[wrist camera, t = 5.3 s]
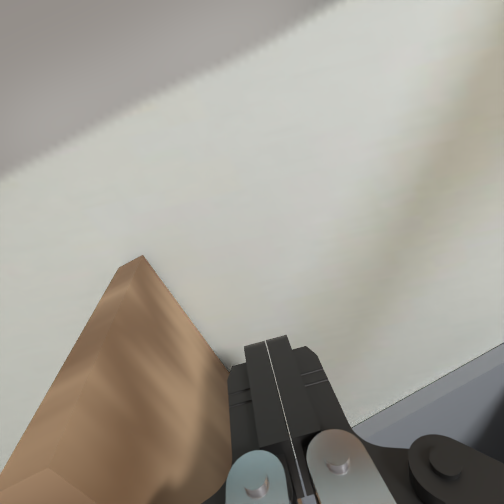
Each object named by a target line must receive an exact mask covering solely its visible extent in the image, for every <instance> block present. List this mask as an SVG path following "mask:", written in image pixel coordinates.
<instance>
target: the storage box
mask: <svg viewBox="0 0 504 504" xmlns="http://www.w3.org/2000/svg"><path fill="white" fill-rule="evenodd" d="M352 430H353V431H354V432H355V433H356V434H357V435H358V436H359V437H361V438H362V439H363V440H365V441H367V442H369V443H371V444H374V445H377V446H382V447H392V448H407V449H410V446H411V445H412V443H413V442H414V441H415V440H416V439H418V438H419V437H421V436H424V435H429V434H437V435H443V436H447V437H450V438H452V439H454V440H457V441H459V442H461V443H463V444H465V445H467V446H469V447H471V448H473V449H475V450H477V451H479V452H481V453H483V454H485V455H487V456H489V457H491V458H493V459H495V460H497V461H499V462H501V463H503V464H504V343H503V344H501V345H499V346H498V347H496V348H494V349H492V350H490V351H489V352H487V353H485V354H483V355H482V356H480V357H478V358H476V359H474V360H473V361H471V362H469V363H467V364H465V365H464V366H462V367H460V368H458V369H456V370H455V371H453V372H451V373H449V374H448V375H446V376H444V377H442V378H440V379H439V380H437V381H435V382H433V383H431V384H430V385H428V386H426V387H424V388H422V389H421V390H419V391H417V392H415V393H414V394H412V395H410V396H408V397H406V398H405V399H403V400H401V401H399V402H397V403H396V404H394V405H392V406H390V407H388V408H387V409H385V410H383V411H381V412H379V413H378V414H376V415H374V416H372V417H371V418H369V419H367V420H365V421H363V422H362V423H360V424H358V425H356V426H354V427H353V428H352ZM295 460H296V464H297V468H298V472H299V476H300V480H301V484H302V488H303V492H304V496H305V497H303V498H301V500H302V504H317V503H316V499H315V496H314V494H313V495H310V496H307V495H306V491H305V487H304V484H303V480H302V476H301V472H300V469H299V465H298V461H297V459H295Z"/></svg>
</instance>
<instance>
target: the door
mask: <svg viewBox="0 0 504 504" xmlns="http://www.w3.org/2000/svg"><path fill="white" fill-rule="evenodd" d="M229 374H230V373H229V372H228V371H227V369H226V368H225V367H224V365H223V364H222V362H221V361H220V360H219V358H218V357H217V356H216V354H215V353H214V351H213V350H212V349H211V347H210V346H209V345H208V343H207V342H206V341H205V339H204V338H203V336H202V335H201V334H200V332H199V331H198V330H197V328H196V327H195V326H194V324H193V323H192V321H191V320H190V319H189V317H188V316H187V315H186V313H185V312H184V311H183V309H182V308H181V306H180V305H179V304H178V302H177V301H176V300H175V298H174V297H173V295H172V294H171V293H170V291H169V290H168V289H167V287H166V286H165V285H164V283H163V282H162V280H161V279H160V278H159V276H158V275H157V274H156V272H155V271H154V270H153V268H152V267H151V265H150V264H149V263H148V261H147V260H146V259H145V257H144V256H143V255H142V256H140V257H138V258H136V259H134V260H132V261H131V262H129V263H127V264H125V265H123V266H121V267H119V268H118V270H117V272H116V273H115V275H114V277H113V279H112V280H111V282H110V284H109V286H108V287H107V289H106V291H105V293H104V294H103V296H102V298H101V300H100V301H99V303H98V305H97V307H96V308H95V310H94V312H93V314H92V315H91V317H90V319H89V321H88V322H87V324H86V326H85V327H84V329H83V331H82V333H81V334H80V336H79V338H78V340H77V341H76V343H75V345H74V347H73V348H72V350H71V352H70V354H69V355H68V357H67V359H66V361H65V362H64V364H63V366H62V368H61V369H60V371H59V373H58V375H57V376H56V378H55V380H54V382H53V383H52V385H51V387H50V389H49V390H48V392H47V394H46V396H45V397H44V399H43V401H42V403H41V404H40V406H39V408H38V409H37V411H36V413H35V415H34V416H33V418H32V420H31V422H30V423H29V425H28V427H27V429H26V430H25V432H24V434H23V436H22V437H21V439H20V441H19V443H18V444H17V446H16V448H15V450H14V451H13V453H12V455H11V457H10V458H9V460H8V462H7V464H6V465H5V467H4V469H3V471H2V472H1V474H0V504H201V503H203V502H204V501H206V500H207V499H209V498H210V497H211V496H212V495H214V494H215V493H216V492H217V491H218V490H219V489H220V488H221V486H222V485H223V484H224V482H225V480H226V479H227V477H228V474H229V471H230V469H231V464H232V447H231V432H230V416H229V401H228V397H229V396H228V386H227V379H228V376H229ZM297 500H298V504H302V500H301V498H300V499H297Z"/></svg>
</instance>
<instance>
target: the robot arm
mask: <svg viewBox="0 0 504 504" xmlns="http://www.w3.org/2000/svg"><path fill="white" fill-rule="evenodd" d="M266 342H267V346H268V350H269V354H270V358H271V362H272V365H273V369H274V373H275V377H276V381H277V385H278V389H279V393H280V396H281V400H282V404H283V408H284V412H285V416H286V420H287V424H288V427H289V431H290V435H291V439H292V443H293V446H294V450H295V454H296V458H297V461H298V465H299V469H300V472H301V476H302V480H303V484H304V487H305V491H306V495H307V496H310V495H313V494H314V496H315V499H316V503H317V504H504V464H503V463H501V462H499V461H497V460H495V459H493V458H491V457H489V456H487V455H485V454H483V453H481V452H479V451H477V450H475V449H473V448H471V447H469V446H467V445H465V444H463V443H461V442H459V441H457V440H454V439H452V438H450V437H447V436H443V435H437V434H429V435H424V436H421V437H419V438H418V439H416V440H415V441H414V442H413V443H412V445H411V446H410V449H407V448H392V447H382V446H377V445H374V444H371V443H369V442H367V441H365V440H363V439H362V438H361V437H359V436H358V435H357V434H356V433H355V432H354V431H353V430H352V428H351V427H350V425H349V423H348V421H347V419H346V417H345V415H344V413H343V410H342V408H341V406H340V404H339V402H338V400H337V397H336V395H335V393H334V391H333V389H332V387H331V384H330V382H329V381H328V378H327V376H326V374H325V372H324V370H323V367H322V365H321V363H320V361H319V359H318V356H317V355H316V354H315V353H314V352H313V351H311V350H310V349H309V348H308V347H306V346H304V347H301V348H297V349H293V350H292V349H291V346H290V343H289V340H288V338H287V335H284V336H281V337H277V338H273V339H270V340H266ZM244 351H245V357H246V363H243V364H239V365H235V366H232V369H231V371H230V374H229V376H228V379H227V386H228V396H229V397H228V401H229V416H230V432H231V447H232V464H231V469H230V471H229V474H228V477H227V479H226V480H225V482H224V484H223V485H222V486H221V488H220V489H219V490H218V491H217V492H216V493H215V494H214V495H212V496H211V497H210V498H209V499H207V500H206V501H204V502H203V503H201V504H298V500H297V499H300V498H303V497H305V496H304V492H303V488H302V484H301V480H300V476H299V472H298V468H297V464H296V460H295V456H294V452H293V448H292V444H291V441H290V437H289V433H288V429H287V425H286V421H285V417H284V413H283V409H282V405H281V401H280V397H279V393H278V389H277V385H276V382H275V378H274V374H273V370H272V367H271V363H270V359H269V356H268V352H267V348H266V344H265V341H263V342H259V343H255V344H252V345H248V346H244Z"/></svg>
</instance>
